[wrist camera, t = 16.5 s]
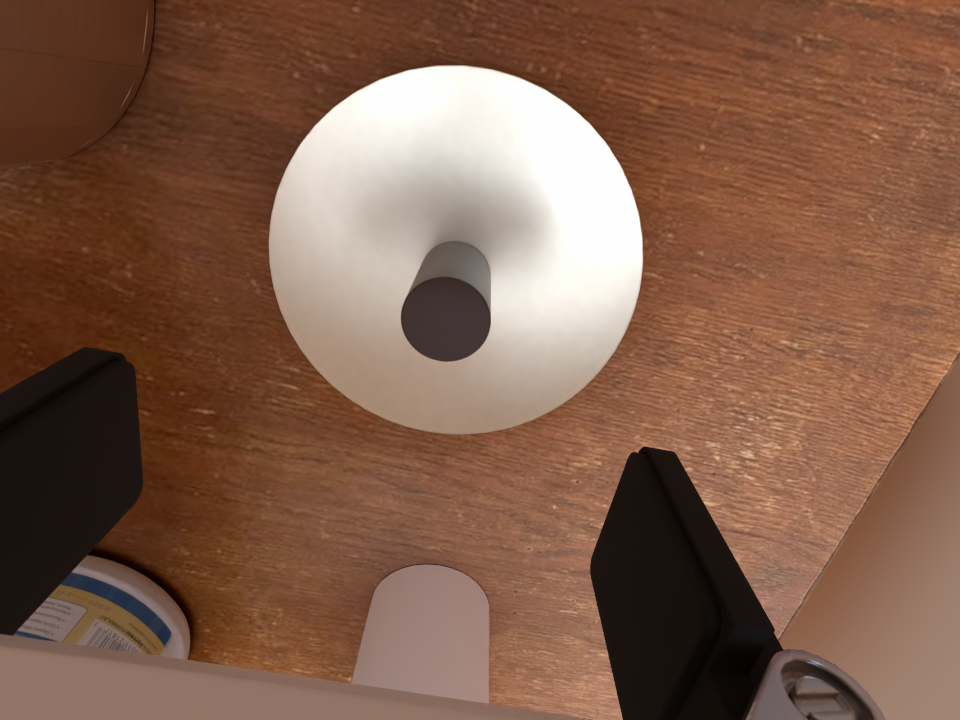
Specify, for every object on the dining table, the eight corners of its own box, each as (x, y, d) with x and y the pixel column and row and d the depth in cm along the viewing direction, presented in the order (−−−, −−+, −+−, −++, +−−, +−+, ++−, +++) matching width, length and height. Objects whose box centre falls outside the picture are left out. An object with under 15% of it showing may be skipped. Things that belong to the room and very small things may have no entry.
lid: (285, 26, 20) (196, -13, 14) (689, 113, 21) (769, 112, 15) (272, 392, 27) (208, 474, 21) (582, 446, 28) (608, 539, 22)
